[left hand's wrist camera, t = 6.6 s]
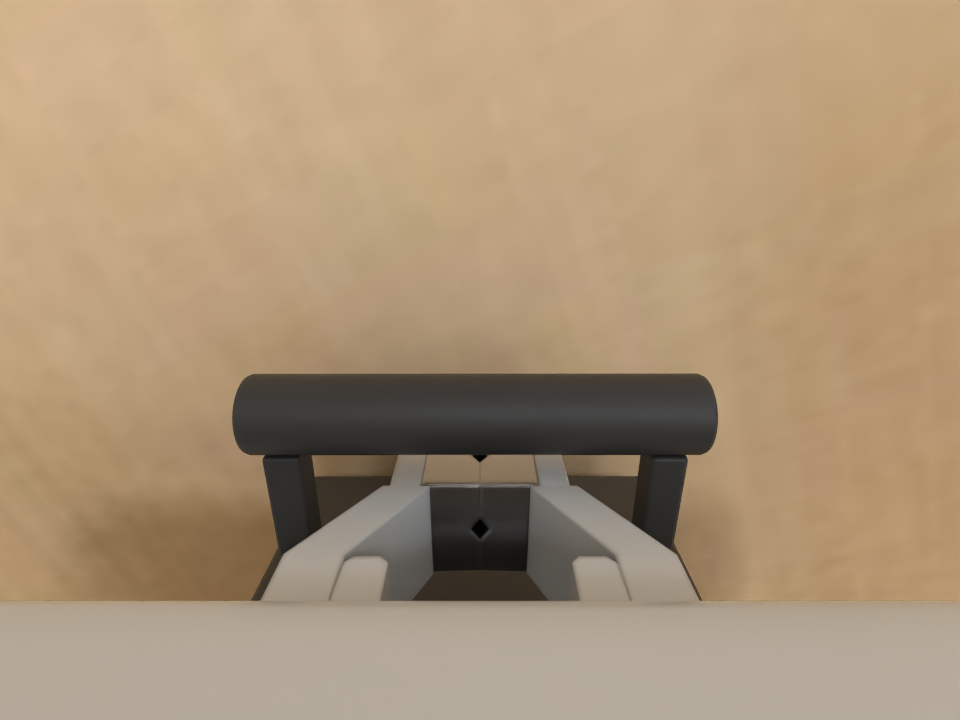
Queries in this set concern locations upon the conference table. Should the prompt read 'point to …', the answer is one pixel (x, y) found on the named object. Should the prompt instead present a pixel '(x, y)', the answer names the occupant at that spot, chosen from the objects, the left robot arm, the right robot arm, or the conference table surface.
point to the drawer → (472, 444)
